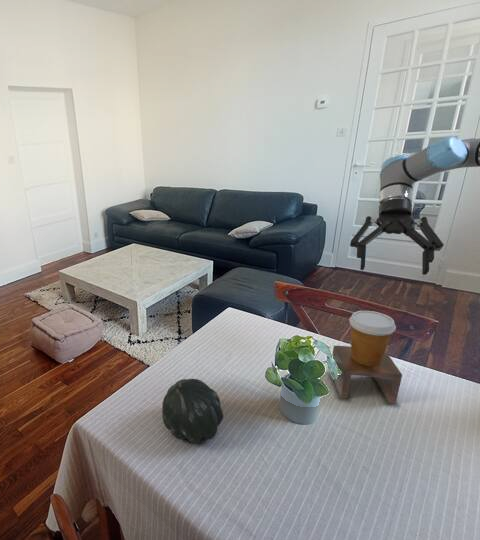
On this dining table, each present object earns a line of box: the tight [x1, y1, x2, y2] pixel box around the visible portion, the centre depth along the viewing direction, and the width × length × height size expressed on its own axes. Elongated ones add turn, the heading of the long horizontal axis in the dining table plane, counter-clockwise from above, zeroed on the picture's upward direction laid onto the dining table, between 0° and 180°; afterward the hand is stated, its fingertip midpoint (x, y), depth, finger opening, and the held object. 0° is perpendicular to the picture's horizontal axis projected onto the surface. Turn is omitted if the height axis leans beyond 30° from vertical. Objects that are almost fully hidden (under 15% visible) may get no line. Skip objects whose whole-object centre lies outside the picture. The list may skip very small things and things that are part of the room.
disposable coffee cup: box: [348, 310, 397, 366], centre depth 86 cm, size 10×10×12 cm
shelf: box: [331, 345, 403, 405], centre depth 90 cm, size 12×11×9 cm
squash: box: [161, 378, 224, 444], centre depth 82 cm, size 14×15×15 cm
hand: (392, 270), depth 92 cm, fingers open, 13 cm apart
